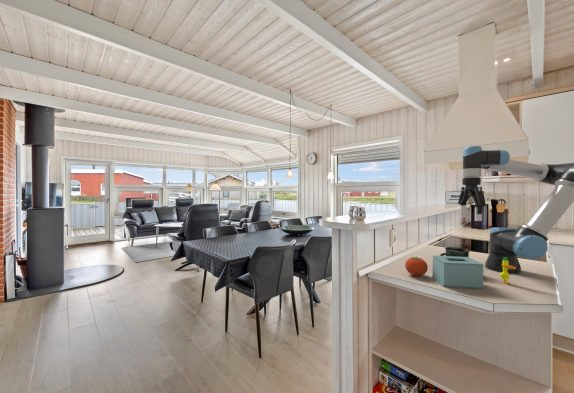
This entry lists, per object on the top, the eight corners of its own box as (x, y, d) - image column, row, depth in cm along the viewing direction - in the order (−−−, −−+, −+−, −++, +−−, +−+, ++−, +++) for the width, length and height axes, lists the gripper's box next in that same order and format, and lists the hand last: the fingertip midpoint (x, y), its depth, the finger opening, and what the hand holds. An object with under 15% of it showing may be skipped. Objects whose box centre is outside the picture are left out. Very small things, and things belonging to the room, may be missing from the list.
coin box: (467, 279, 124) (468, 257, 124) (482, 289, 112) (483, 264, 112) (432, 277, 126) (432, 255, 126) (443, 286, 115) (444, 262, 114)
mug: (474, 275, 131) (475, 251, 130) (446, 275, 130) (447, 251, 130) (459, 268, 142) (460, 246, 141) (433, 268, 141) (434, 246, 141)
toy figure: (517, 285, 116) (518, 259, 116) (512, 286, 115) (513, 260, 115) (501, 280, 123) (502, 256, 122) (496, 281, 121) (496, 256, 121)
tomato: (404, 271, 136) (404, 252, 136) (425, 273, 133) (425, 254, 132) (406, 277, 126) (406, 257, 126) (429, 280, 123) (429, 259, 123)
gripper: (451, 178, 142) (450, 216, 142) (477, 176, 117) (476, 222, 118) (466, 178, 141) (465, 216, 141) (496, 176, 116) (494, 222, 117)
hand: (470, 219), depth 129 cm, fingers open, 13 cm apart
